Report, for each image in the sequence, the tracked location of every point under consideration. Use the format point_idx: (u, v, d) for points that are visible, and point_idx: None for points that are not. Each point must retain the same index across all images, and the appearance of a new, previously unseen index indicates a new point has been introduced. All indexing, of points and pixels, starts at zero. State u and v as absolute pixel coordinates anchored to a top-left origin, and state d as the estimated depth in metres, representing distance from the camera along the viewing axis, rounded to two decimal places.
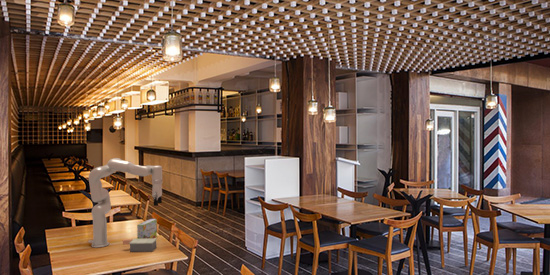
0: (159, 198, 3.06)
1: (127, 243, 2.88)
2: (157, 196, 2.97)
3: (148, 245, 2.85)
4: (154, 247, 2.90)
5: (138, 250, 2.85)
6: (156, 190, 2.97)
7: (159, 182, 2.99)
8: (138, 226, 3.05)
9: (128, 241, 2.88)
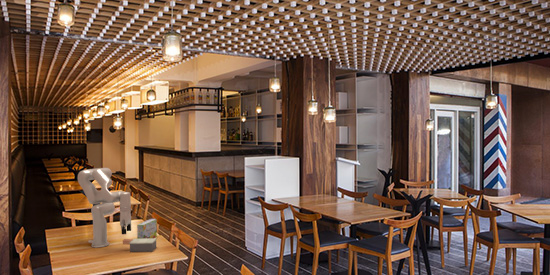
0: (128, 226, 2.94)
1: (127, 243, 2.88)
2: (125, 224, 2.85)
3: (148, 245, 2.85)
4: (154, 247, 2.90)
5: (138, 250, 2.85)
6: (124, 218, 2.84)
7: (127, 209, 2.86)
8: (138, 226, 3.05)
9: (128, 241, 2.88)
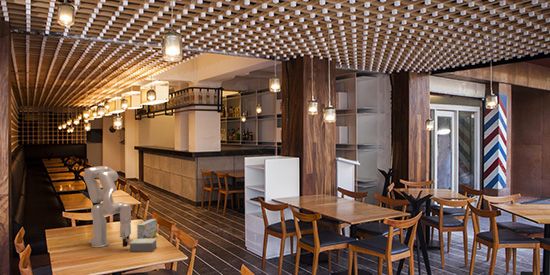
0: None
1: (127, 243, 2.88)
2: (126, 237, 2.86)
3: (148, 245, 2.85)
4: (154, 247, 2.90)
5: (138, 250, 2.85)
6: (124, 230, 2.85)
7: (127, 221, 2.87)
8: (138, 226, 3.05)
9: (128, 241, 2.88)
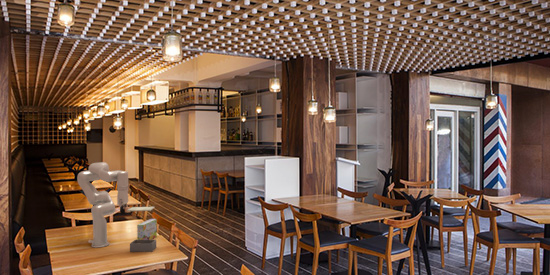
0: None
1: (125, 211, 2.85)
2: (123, 205, 2.83)
3: (148, 245, 2.85)
4: (154, 247, 2.90)
5: (138, 250, 2.85)
6: (121, 197, 2.82)
7: (125, 189, 2.84)
8: (138, 226, 3.05)
9: (126, 209, 2.85)
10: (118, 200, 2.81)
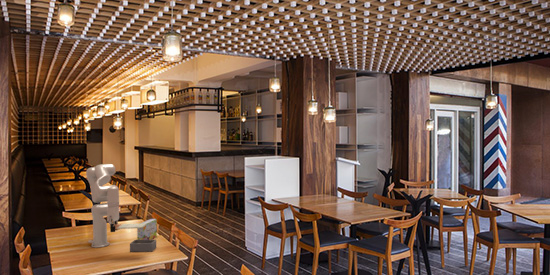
0: None
1: (115, 228, 2.72)
2: (113, 222, 2.71)
3: (148, 245, 2.85)
4: (154, 247, 2.90)
5: (138, 250, 2.85)
6: (111, 214, 2.69)
7: (115, 205, 2.71)
8: None
9: (116, 226, 2.72)
10: (108, 217, 2.69)
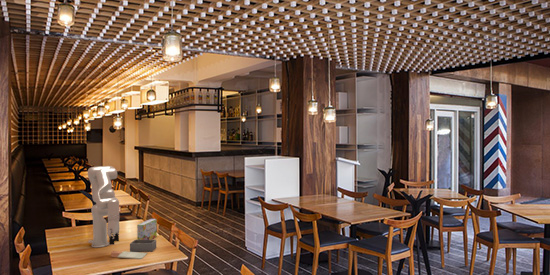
0: (116, 236, 2.78)
1: (115, 256, 2.73)
2: (113, 234, 2.70)
3: (148, 245, 2.85)
4: (154, 247, 2.90)
5: (138, 250, 2.85)
6: (111, 227, 2.69)
7: (115, 218, 2.72)
8: (138, 226, 3.05)
9: (117, 254, 2.73)
10: (108, 230, 2.69)
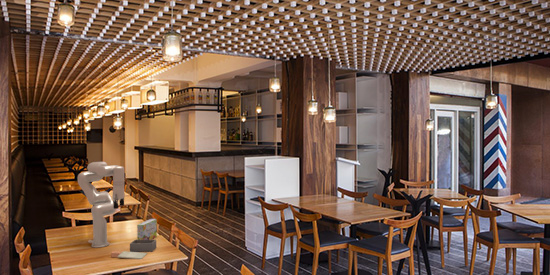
0: (121, 200, 2.91)
1: (115, 256, 2.73)
2: (117, 199, 2.82)
3: (148, 245, 2.85)
4: (154, 247, 2.90)
5: (138, 250, 2.85)
6: (116, 192, 2.81)
7: (120, 184, 2.83)
8: (138, 226, 3.05)
9: (117, 254, 2.73)
10: (113, 195, 2.82)
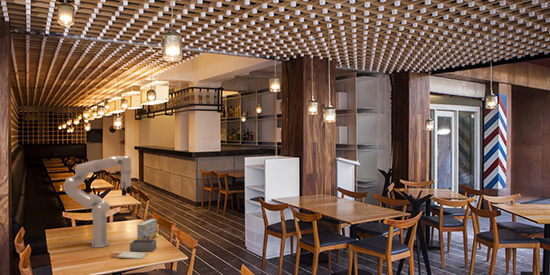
0: (128, 188, 3.08)
1: (115, 256, 2.73)
2: (125, 186, 2.99)
3: (148, 245, 2.85)
4: (154, 247, 2.90)
5: (138, 250, 2.85)
6: (124, 180, 2.99)
7: (127, 172, 3.01)
8: (138, 226, 3.05)
9: (117, 254, 2.73)
10: (121, 183, 2.99)
